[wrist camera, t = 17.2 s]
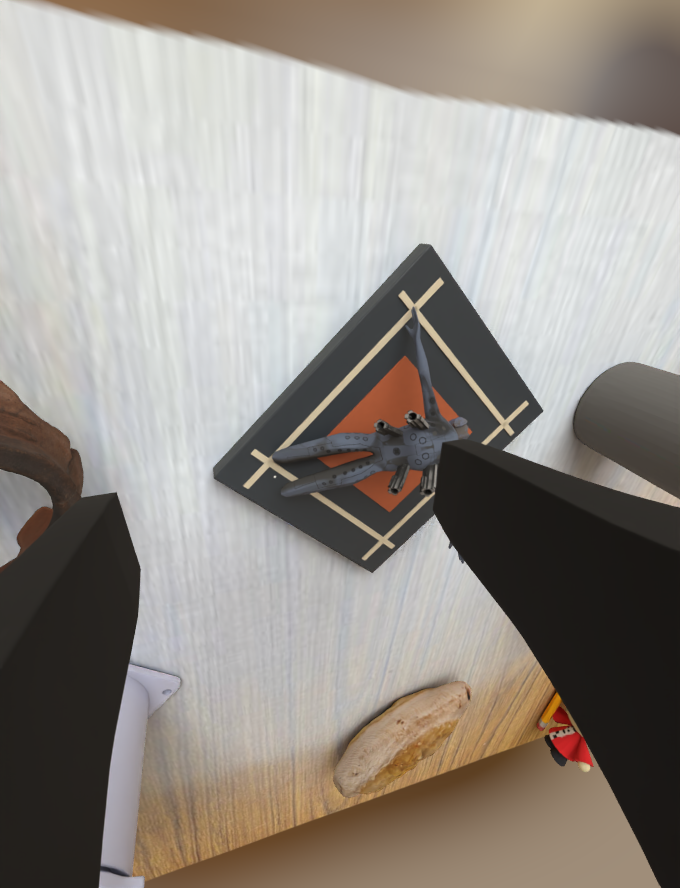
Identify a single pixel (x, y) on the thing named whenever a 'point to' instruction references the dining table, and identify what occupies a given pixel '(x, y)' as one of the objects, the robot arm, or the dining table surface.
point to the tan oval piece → (400, 738)
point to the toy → (568, 742)
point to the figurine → (383, 445)
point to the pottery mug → (38, 462)
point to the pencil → (549, 712)
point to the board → (381, 410)
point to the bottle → (635, 422)
